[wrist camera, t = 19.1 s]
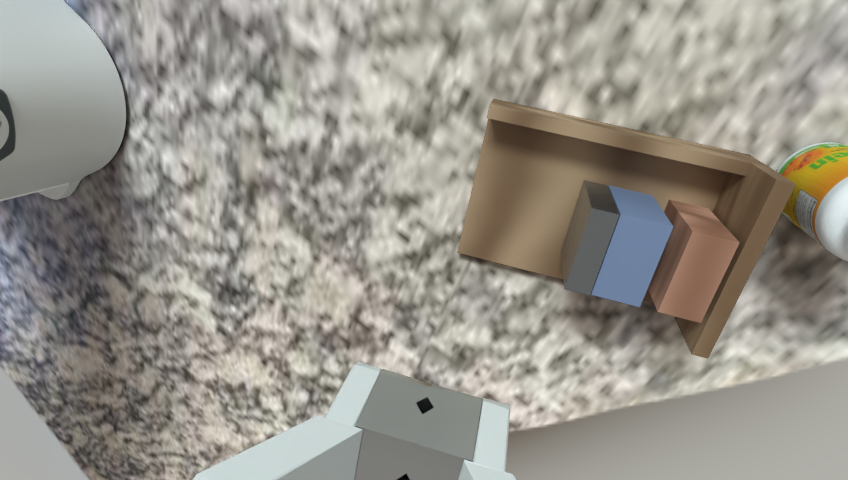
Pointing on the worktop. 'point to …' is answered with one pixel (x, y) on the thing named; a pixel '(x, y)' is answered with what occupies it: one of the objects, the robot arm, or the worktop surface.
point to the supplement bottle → (820, 194)
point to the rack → (633, 170)
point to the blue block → (632, 247)
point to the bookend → (588, 237)
